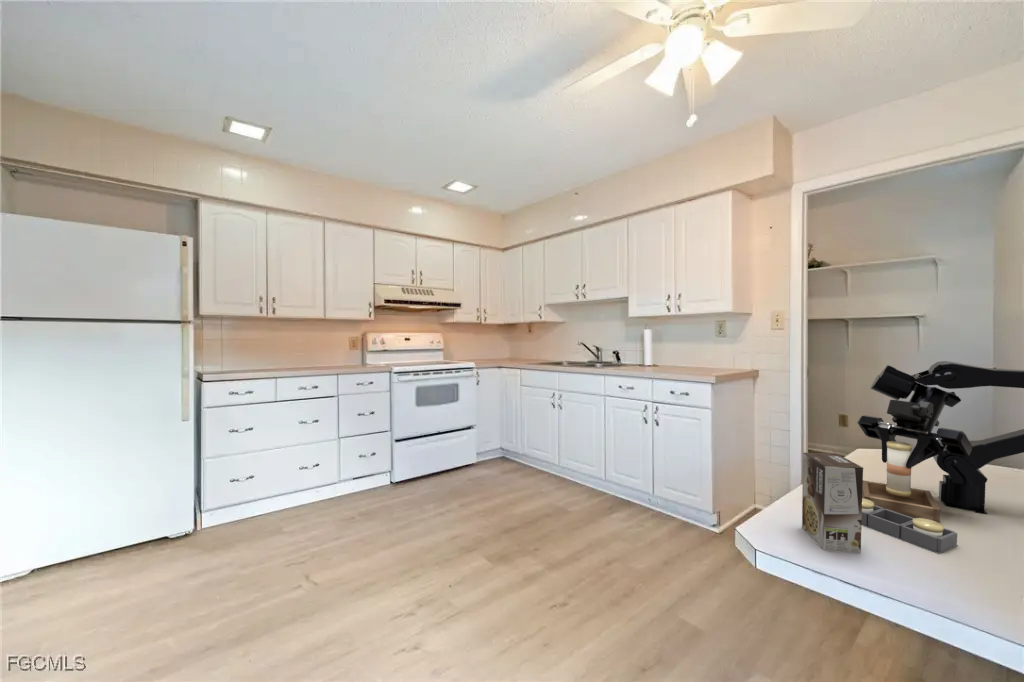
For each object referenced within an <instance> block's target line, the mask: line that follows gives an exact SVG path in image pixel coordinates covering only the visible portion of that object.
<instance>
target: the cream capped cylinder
mask: <svg viewBox="0 0 1024 682" xmlns="http://www.w3.org/2000/svg"><path fill="white" fill-rule="evenodd" d="M912 451H913V445H912V444H911V443H908V442H903V441H897V440H896V441H888V442H887V462H886V484H887V485H886V491H887V492H888V493H890V494H894V495H898V496H911V488H912V487H911V486H912V485H911V484H912V483H911V482H912V481H911V480H912V479H911V478H912V468H910V469H909V468H907V467H906V463H907V460H908V458H909V456H910V455H911V453H912Z"/></svg>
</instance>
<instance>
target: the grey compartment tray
mask: <svg viewBox="0 0 1024 682" xmlns="http://www.w3.org/2000/svg"><path fill="white" fill-rule="evenodd" d="M913 519H914V518H912V517H909V516H906V515H903V514H900V513H897V512H894V511H891V510H888V509H884V508H882V507H879V506H875V505H874V508H873V511H872V512H869V513H865V512H862V527H865V528H867V529H870V530H874V531H875V532H877V533H882V534H884V535H886V536H889V537H891V538H894V539H897V540H900V541H902V542H905V543H907V544H911V545H913V546H916V547H918V548H921V549H924V550H926V551H930V552H931V553H934V554H937V555H941V554H943V553H945V552H947V551H950V550H952V549H955V548H956V547H959V545H958V532H956V531H954V530H951V529H948V528H945V527H944V530H943V535H942V537H939V538H937V537H934V536H931V535H928V534H925V533H923V532H920V531H917V530H914V529H913Z"/></svg>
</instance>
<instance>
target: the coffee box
mask: <svg viewBox="0 0 1024 682" xmlns="http://www.w3.org/2000/svg"><path fill="white" fill-rule="evenodd" d="M863 480H864V466H863V467H862V466H861V465H859V464H857V463H856V462H853V461H851V459H850V460H849V459H848V458H846V457H844V456H843V455H840V454H839V453H835V452H833V453H832V452H802V483H801V484H802V492H801V493H802V496H801V497H802V502H801V503H802V505H801V507H802V509H801V514H802V515H801V517H802V518H801V519H802V520H801V529H802V530H803V531H804V532H805V534H807V535H808V536H809V537H810V538H811V539H812V540H813V541H814V543H816V545H818V546H819V547H820V548H821V550H823V551H828V552H837V553H838V552H839V553H850V554H861V553H862V551H861V550H862V549H861V548H862V527H863V526H862V490H863Z"/></svg>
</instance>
